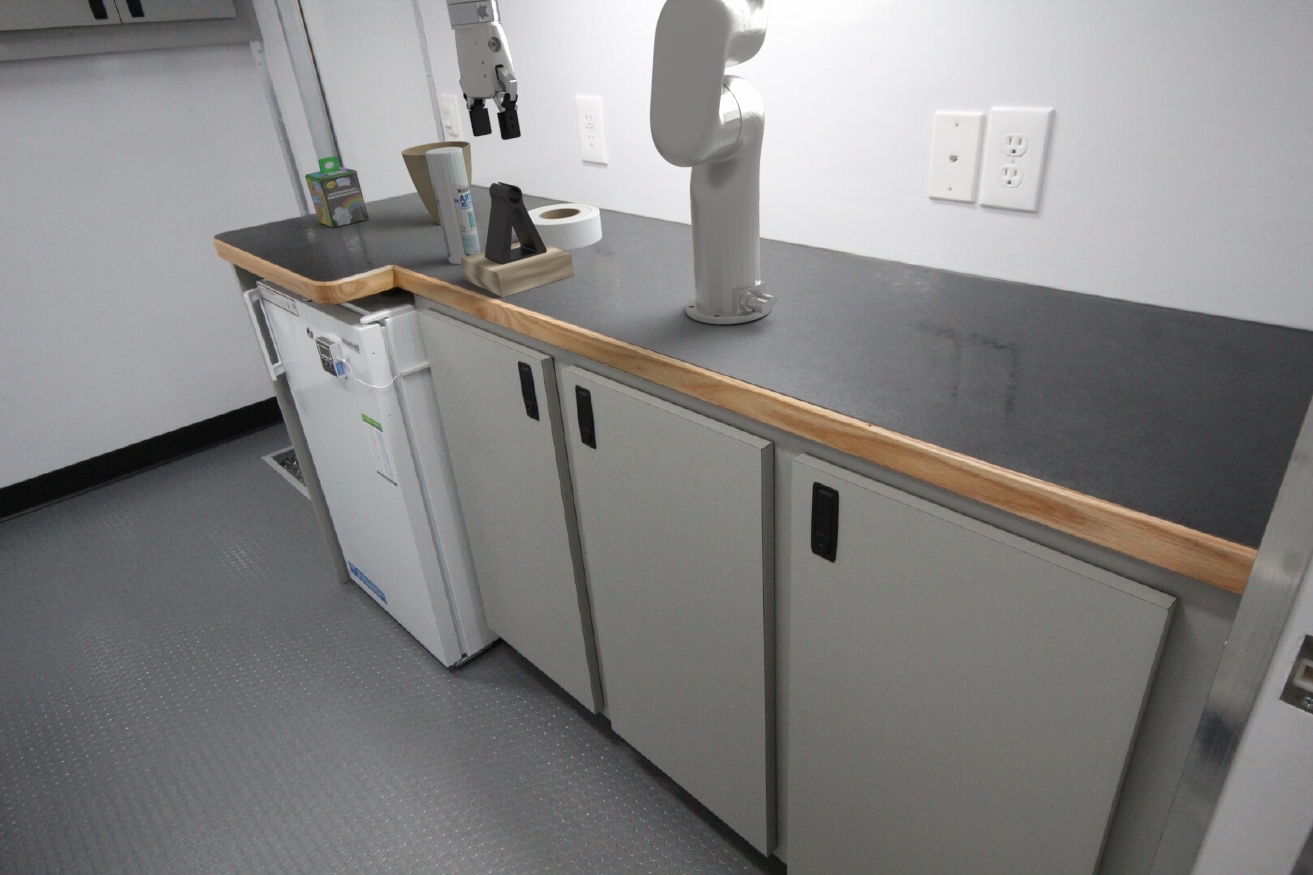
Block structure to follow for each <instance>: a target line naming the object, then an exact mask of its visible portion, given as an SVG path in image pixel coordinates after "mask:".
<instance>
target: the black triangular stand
mask: <svg viewBox="0 0 1313 875" xmlns="http://www.w3.org/2000/svg"><path fill="white" fill-rule="evenodd" d="M488 192H489V197H490V200H491V204H490V212H489V218H488V219H489V220H488V228H487V235H486V243H485V250H484V251H485V258H487V259H490V260H492V261H495V262H497V263H500V264H502V265H504V264H507V263H511V262H514V261H518V260H522V259H524V258H529V257H532V256H536V255H540V254H543V253H546V252H547V249H546V247H545V245H544V243H543V241H542V239H541V237H540V235H539V233H538V231H537V229H536V227H535V225H534V223H533V221H532V219H531V218H530V216H529V214H528V210H527V207H526V206H525V204H524V200H523V198H524V197H523V191H522V189H521V187H519V186H517V185H514V184H510V183H509V184H508V183H505V182H501V181H497V183H495V182H492V183H491V184H490V186H489V191H488ZM513 230H514V233H515V235H516V238H517V239H518V242H519V243H520V247H518V248H514V249H511V244H512V239H513V238H512V237H513Z"/></svg>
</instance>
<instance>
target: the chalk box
mask: <svg viewBox="0 0 1313 875" xmlns="http://www.w3.org/2000/svg"><path fill="white" fill-rule="evenodd" d="M327 163H333V165H332V167H329V168H328V167H326V164H327ZM318 165H319V170H318V171H314V172H311V173H306V174H305V176H304V177H305V181H306V184H307V188H308V190H309V194H310V197H311V201H312V204H313V208H314V210H315V213H316V217H317V220H318V223H319V224H322V225H325V226H326V227H331V228H333V229H336V228H339V227H343V226H347V225H351V224H356V223H360V222H364V221H369V214H368V211H367V208H366V207H367V206H366V203H365V199H364V196H363V195H364V194H363V191H362V188H361V183H360V179H359V176H358V170H354V169H351V168H347V167H343V166H340V160H339V157H338V156H337V155H333V156H326V157H322V158H320V159H318Z"/></svg>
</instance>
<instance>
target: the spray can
mask: <svg viewBox="0 0 1313 875" xmlns="http://www.w3.org/2000/svg"><path fill="white" fill-rule="evenodd" d="M425 154H426V159H427V163H428V168H429V172H430V177H431V182H432V186H433V191H434V195H435V200H436V204H437V209H438V213H439V218H440V222H441V224H440V227H441V232H442V236H443V240H444V244H445V250H446V253H447V258H448V261H449V263H450V264H452V265H462V263H461V258H462V257H465V256H469V255H473V254H477V253H480V252H482V251H481V245H480V240H479V235H478V229H477V223H476V217H475V211H474V206H473V200H472V196H471V195H470V190H469V184H468V179H467V173H466V168H465V162H464V157H463V152H462V148H460V147H444V148H437V149H432V150H429V151H427V152H426V153H425Z"/></svg>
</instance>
